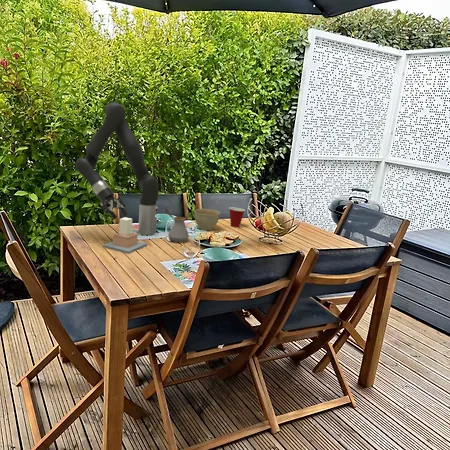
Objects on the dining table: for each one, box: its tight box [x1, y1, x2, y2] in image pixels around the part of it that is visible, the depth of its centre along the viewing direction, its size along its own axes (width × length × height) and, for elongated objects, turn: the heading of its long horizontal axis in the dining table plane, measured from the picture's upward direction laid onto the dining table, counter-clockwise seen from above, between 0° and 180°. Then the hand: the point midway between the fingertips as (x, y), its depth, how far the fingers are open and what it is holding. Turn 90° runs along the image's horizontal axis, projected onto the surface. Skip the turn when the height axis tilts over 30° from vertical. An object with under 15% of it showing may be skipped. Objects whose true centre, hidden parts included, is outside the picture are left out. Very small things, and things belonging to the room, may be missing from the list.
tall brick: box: [118, 216, 133, 236], centre depth 207 cm, size 4×4×10 cm
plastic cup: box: [228, 206, 246, 228], centre depth 267 cm, size 11×11×12 cm
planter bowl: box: [193, 208, 221, 231], centre depth 255 cm, size 16×16×11 cm
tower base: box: [102, 231, 148, 255], centre depth 209 cm, size 16×16×7 cm
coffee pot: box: [162, 207, 190, 243], centre depth 229 cm, size 21×12×15 cm, turn 41°
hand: (121, 216), depth 207 cm, fingers open, 8 cm apart
